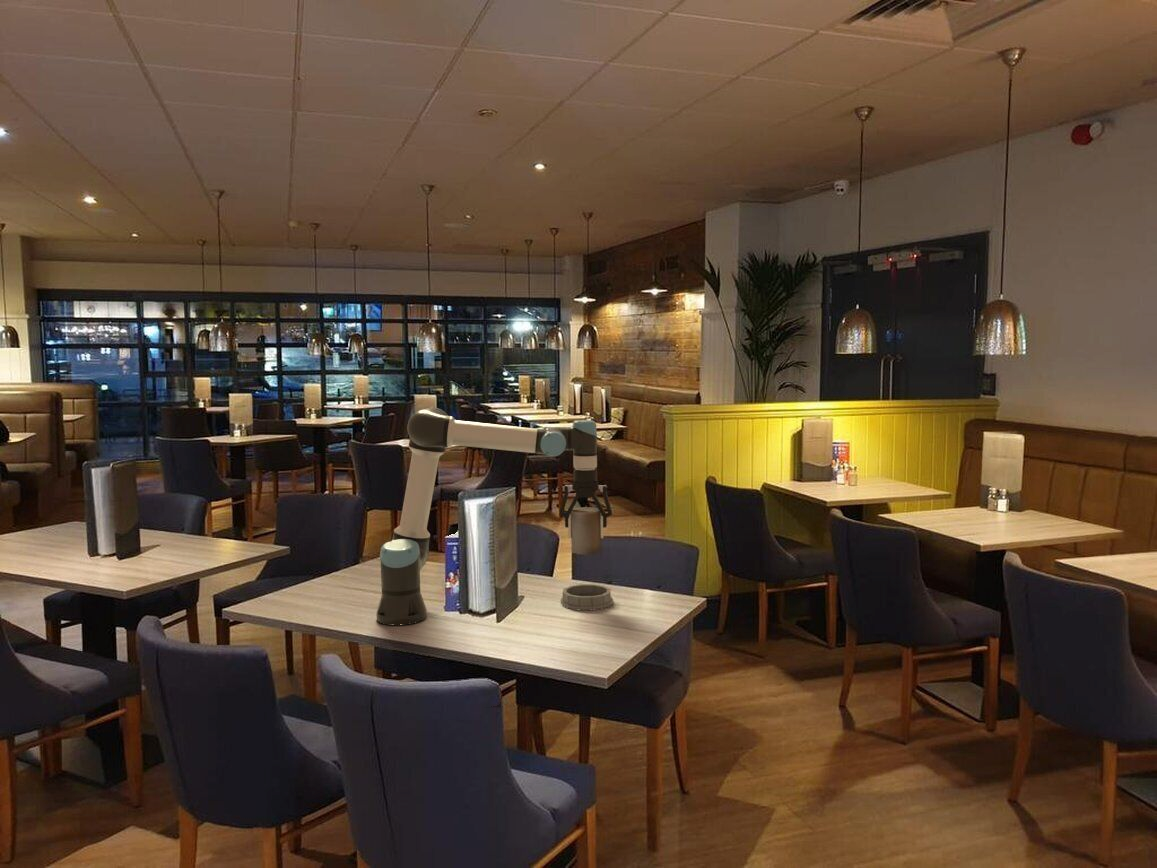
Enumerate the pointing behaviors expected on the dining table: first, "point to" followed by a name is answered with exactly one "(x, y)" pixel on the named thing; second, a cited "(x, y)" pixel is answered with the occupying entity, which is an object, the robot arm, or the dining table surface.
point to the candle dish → (586, 597)
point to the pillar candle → (586, 530)
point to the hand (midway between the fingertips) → (586, 537)
